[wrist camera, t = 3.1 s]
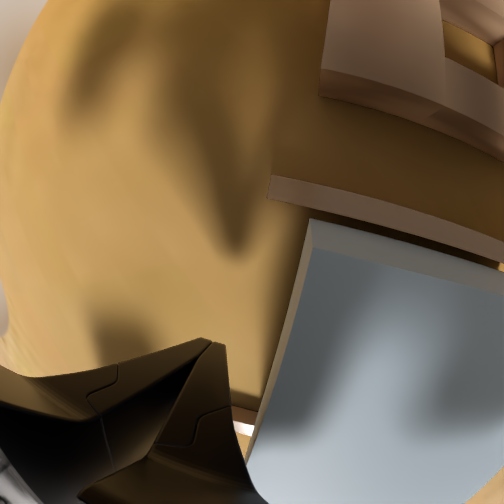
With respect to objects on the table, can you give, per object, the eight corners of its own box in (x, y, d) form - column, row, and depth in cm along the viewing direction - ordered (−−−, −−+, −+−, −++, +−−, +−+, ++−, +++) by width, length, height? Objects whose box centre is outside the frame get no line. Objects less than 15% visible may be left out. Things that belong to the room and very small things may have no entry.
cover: (506, 273, 8) (591, 321, 3) (424, 436, 10) (448, 515, 5) (309, 217, 9) (312, 247, 4) (257, 415, 12) (227, 513, 6)
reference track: (584, 281, 7) (593, 286, 6) (510, 432, 10) (515, 441, 9) (275, 176, 10) (271, 174, 9) (225, 414, 13) (220, 427, 12)
